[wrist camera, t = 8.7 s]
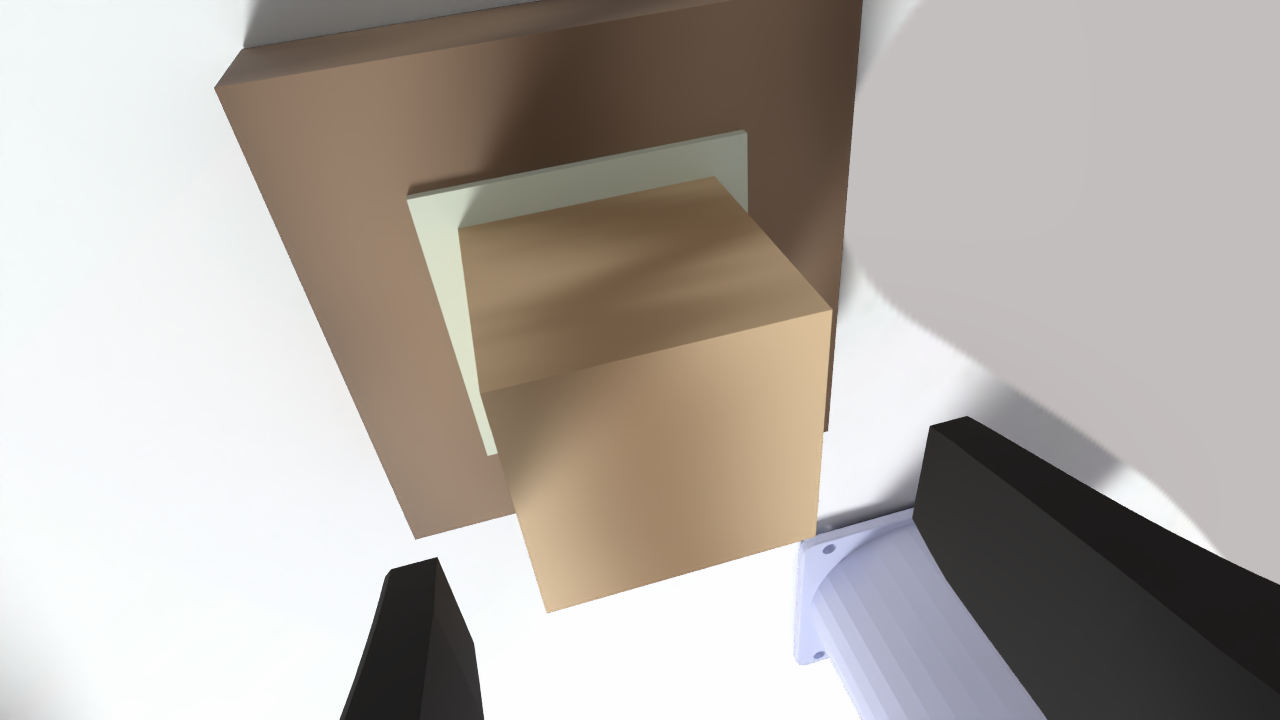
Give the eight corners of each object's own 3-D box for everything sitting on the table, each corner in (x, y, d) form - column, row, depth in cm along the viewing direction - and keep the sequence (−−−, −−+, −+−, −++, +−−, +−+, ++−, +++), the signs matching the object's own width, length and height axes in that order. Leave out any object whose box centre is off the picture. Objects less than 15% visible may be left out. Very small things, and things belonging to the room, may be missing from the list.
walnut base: (804, -42, 15) (870, -21, 13) (789, 376, 22) (831, 436, 19) (241, 48, 13) (211, 90, 11) (414, 469, 20) (415, 545, 18)
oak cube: (714, 175, 14) (833, 309, 10) (722, 375, 17) (815, 536, 13) (457, 228, 14) (478, 393, 10) (512, 426, 17) (546, 613, 13)
